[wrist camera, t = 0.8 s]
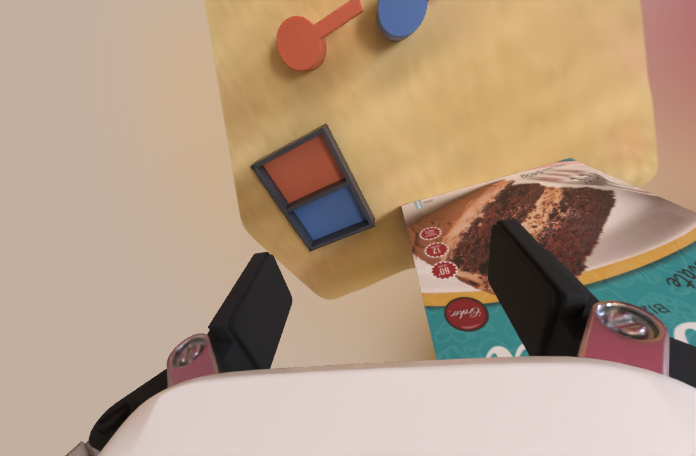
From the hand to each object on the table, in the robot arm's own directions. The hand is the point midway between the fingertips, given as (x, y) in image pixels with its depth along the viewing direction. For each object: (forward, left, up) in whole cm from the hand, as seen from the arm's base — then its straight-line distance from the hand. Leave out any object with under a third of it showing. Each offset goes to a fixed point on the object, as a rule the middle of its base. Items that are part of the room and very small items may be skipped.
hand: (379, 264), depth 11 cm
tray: (+4, -10, -26) cm, 28 cm away
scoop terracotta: (-12, -1, -26) cm, 28 cm away
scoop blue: (-10, +10, -26) cm, 29 cm away
